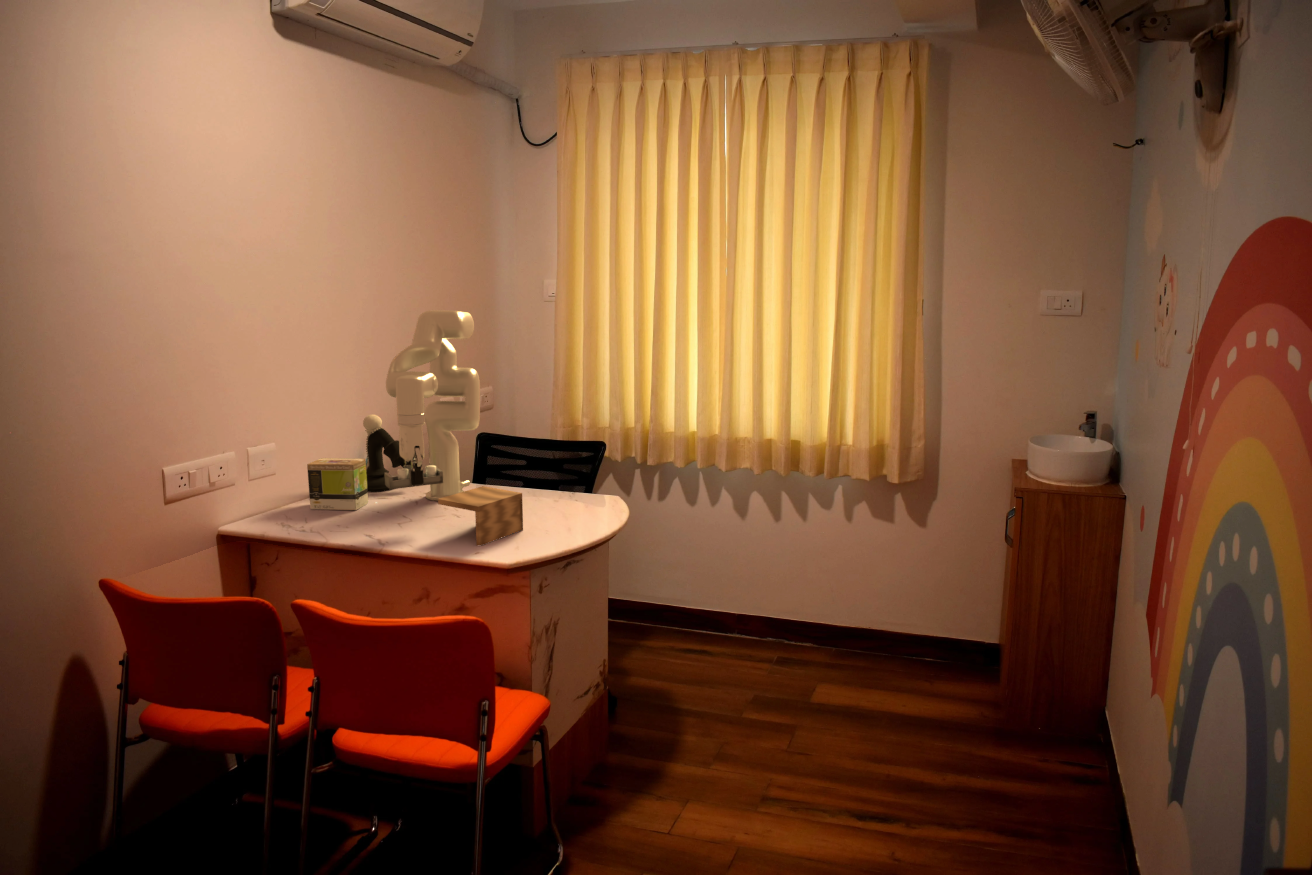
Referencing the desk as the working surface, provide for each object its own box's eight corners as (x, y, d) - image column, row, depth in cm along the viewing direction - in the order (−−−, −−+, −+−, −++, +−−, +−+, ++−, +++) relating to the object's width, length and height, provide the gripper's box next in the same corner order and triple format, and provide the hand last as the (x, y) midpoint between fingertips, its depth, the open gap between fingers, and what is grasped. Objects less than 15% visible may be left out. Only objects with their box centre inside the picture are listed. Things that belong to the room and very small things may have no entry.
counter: (483, 522, 270) (482, 486, 268) (523, 530, 262) (522, 492, 260) (439, 537, 255) (438, 498, 253) (479, 545, 247) (478, 506, 245)
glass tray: (385, 484, 259) (384, 467, 258) (437, 478, 267) (436, 461, 266) (390, 489, 254) (389, 471, 253) (443, 483, 262) (442, 466, 261)
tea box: (369, 503, 292) (366, 457, 289) (355, 511, 282) (353, 464, 279) (323, 501, 293) (321, 456, 290) (309, 509, 283) (306, 463, 280)
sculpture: (374, 480, 323) (370, 410, 318) (430, 486, 314) (427, 414, 309) (344, 489, 309) (340, 416, 304) (402, 496, 300) (399, 421, 295)
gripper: (390, 415, 262) (393, 476, 266) (405, 425, 248) (408, 490, 251) (416, 413, 266) (419, 474, 270) (432, 423, 251) (435, 486, 255)
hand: (414, 481), depth 260 cm, fingers closed on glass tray, 6 cm apart
